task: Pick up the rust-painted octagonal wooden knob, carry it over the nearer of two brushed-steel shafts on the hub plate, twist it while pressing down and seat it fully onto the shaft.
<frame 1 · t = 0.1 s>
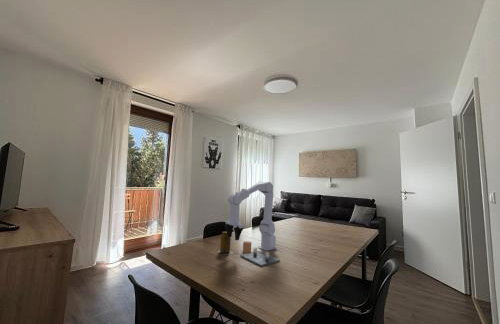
hand: (233, 238, 124), 10 cm above the table, fingers open, 7 cm apart
hub plate: (259, 258, 121), on the table
knob: (246, 251, 133), on the table
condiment: (225, 252, 130), on the table
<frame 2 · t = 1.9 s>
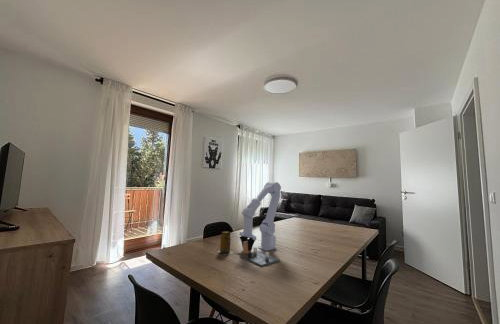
hand: (247, 249, 133), 1 cm above the table, fingers closed on knob, 5 cm apart
knob: (246, 251, 133), on the table, touching gripper
everything else where it was.
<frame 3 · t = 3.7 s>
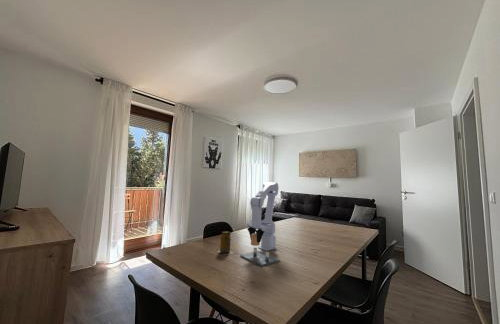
hand: (255, 241, 124), 9 cm above the table, fingers closed on knob, 5 cm apart
knob: (255, 244, 124), point 7 cm above the table, touching gripper
everything else where it was.
when the fingers open (4 cm above the table, at t = 5.6 s): knob stays where it is, resting on hub plate.
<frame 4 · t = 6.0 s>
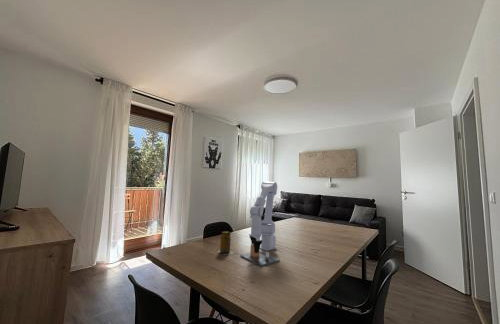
hand: (255, 250, 124), 4 cm above the table, fingers open, 7 cm apart
knob: (254, 255, 124), point 1 cm above the table, touching hub plate
everything else where it was.
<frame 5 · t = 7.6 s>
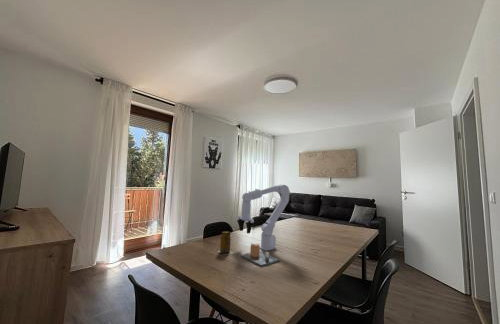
hand: (244, 232, 140), 10 cm above the table, fingers open, 7 cm apart
nothing on the table moved.
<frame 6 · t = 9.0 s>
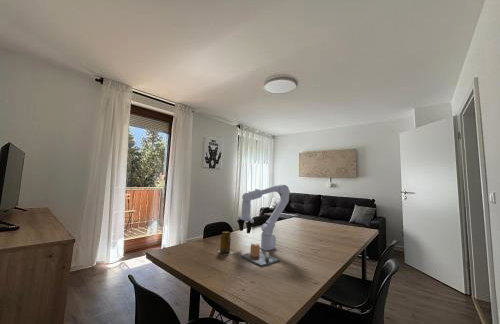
hand: (244, 232, 140), 10 cm above the table, fingers open, 7 cm apart
nothing on the table moved.
at the end: knob 0.1 cm from the target spot on the hub plate, point 1.0 cm above the hub plate's base; knob tilted 0°; the gripper is holding nothing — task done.
